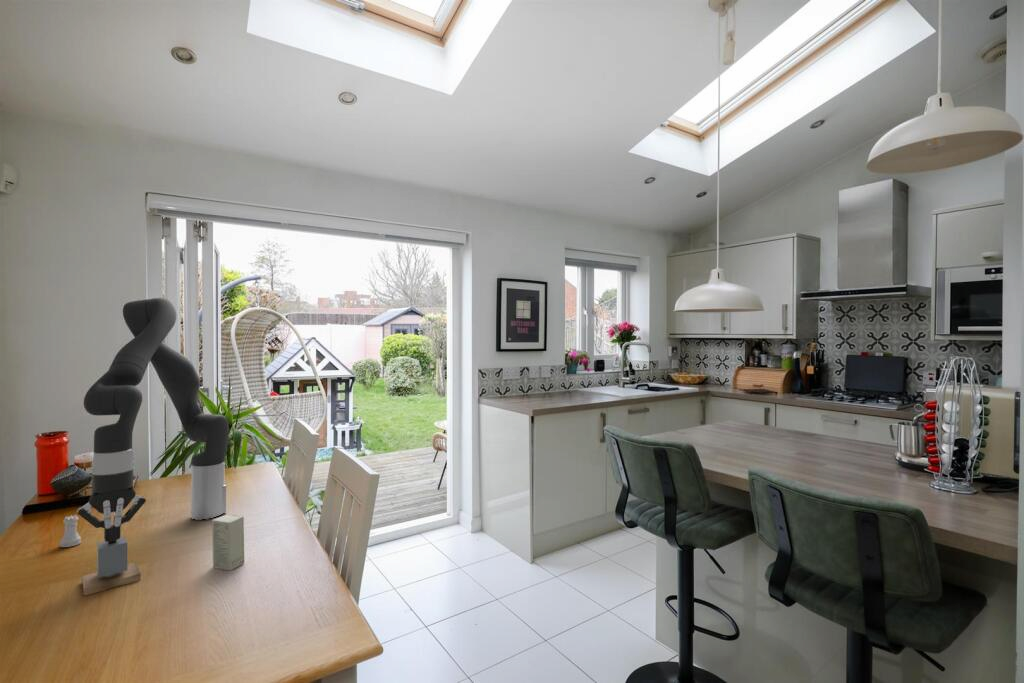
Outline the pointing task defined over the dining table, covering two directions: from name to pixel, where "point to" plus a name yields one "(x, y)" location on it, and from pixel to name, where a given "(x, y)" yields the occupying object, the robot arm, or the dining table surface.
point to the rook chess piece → (70, 532)
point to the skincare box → (228, 541)
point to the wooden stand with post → (110, 579)
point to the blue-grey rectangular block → (111, 557)
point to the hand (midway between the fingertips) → (112, 542)
